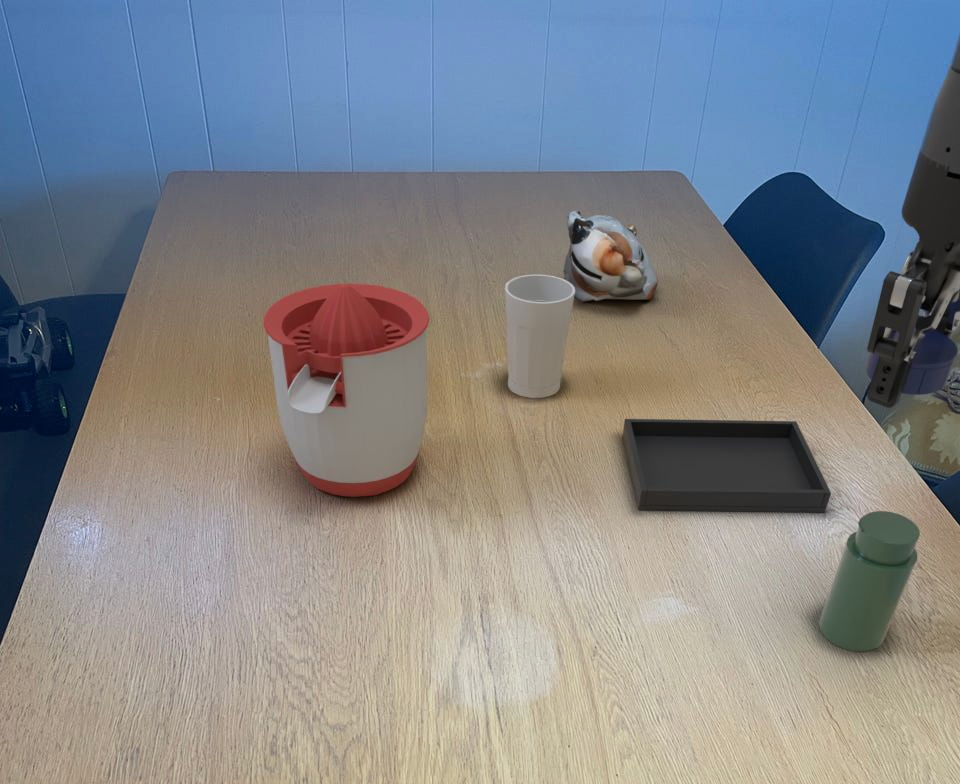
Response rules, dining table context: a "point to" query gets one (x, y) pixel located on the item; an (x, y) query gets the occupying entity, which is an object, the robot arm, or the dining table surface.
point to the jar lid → (926, 364)
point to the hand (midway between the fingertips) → (901, 387)
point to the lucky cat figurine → (607, 260)
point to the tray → (723, 466)
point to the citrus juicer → (351, 384)
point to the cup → (537, 332)
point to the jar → (870, 581)
